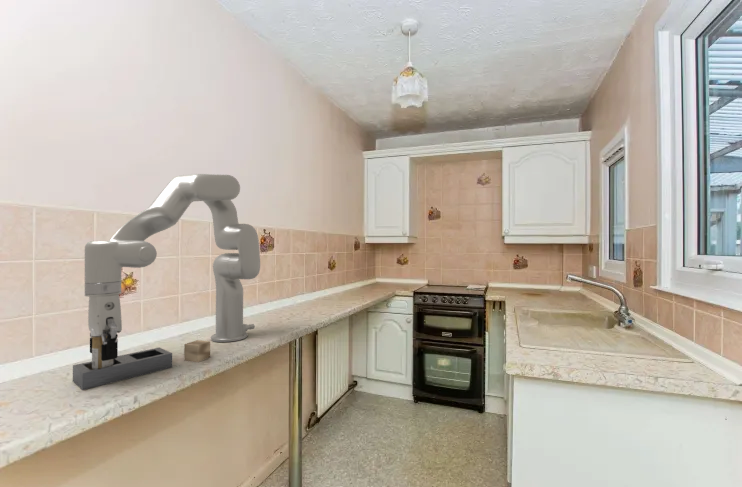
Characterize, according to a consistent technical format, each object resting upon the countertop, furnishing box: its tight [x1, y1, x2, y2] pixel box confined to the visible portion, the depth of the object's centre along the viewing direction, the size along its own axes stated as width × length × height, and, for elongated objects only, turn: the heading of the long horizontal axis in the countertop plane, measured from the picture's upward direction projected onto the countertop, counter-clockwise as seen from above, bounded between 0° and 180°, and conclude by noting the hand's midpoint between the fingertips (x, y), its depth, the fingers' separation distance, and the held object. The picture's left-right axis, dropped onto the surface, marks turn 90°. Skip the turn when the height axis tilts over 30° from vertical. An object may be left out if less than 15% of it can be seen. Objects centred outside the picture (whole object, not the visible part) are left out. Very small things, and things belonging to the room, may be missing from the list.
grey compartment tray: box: [72, 347, 173, 391], centre depth 93 cm, size 20×9×4 cm, turn 142°
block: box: [183, 339, 211, 363], centre depth 106 cm, size 5×5×5 cm
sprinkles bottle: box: [90, 329, 113, 369], centre depth 90 cm, size 5×5×14 cm
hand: (103, 355), depth 90 cm, fingers open, 9 cm apart
